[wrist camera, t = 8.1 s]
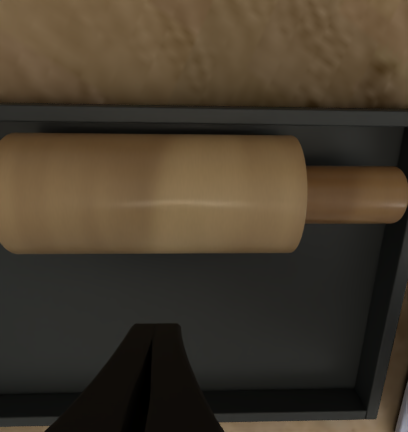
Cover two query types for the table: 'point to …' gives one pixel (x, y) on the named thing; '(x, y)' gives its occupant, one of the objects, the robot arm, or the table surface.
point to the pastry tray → (217, 284)
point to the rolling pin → (179, 193)
